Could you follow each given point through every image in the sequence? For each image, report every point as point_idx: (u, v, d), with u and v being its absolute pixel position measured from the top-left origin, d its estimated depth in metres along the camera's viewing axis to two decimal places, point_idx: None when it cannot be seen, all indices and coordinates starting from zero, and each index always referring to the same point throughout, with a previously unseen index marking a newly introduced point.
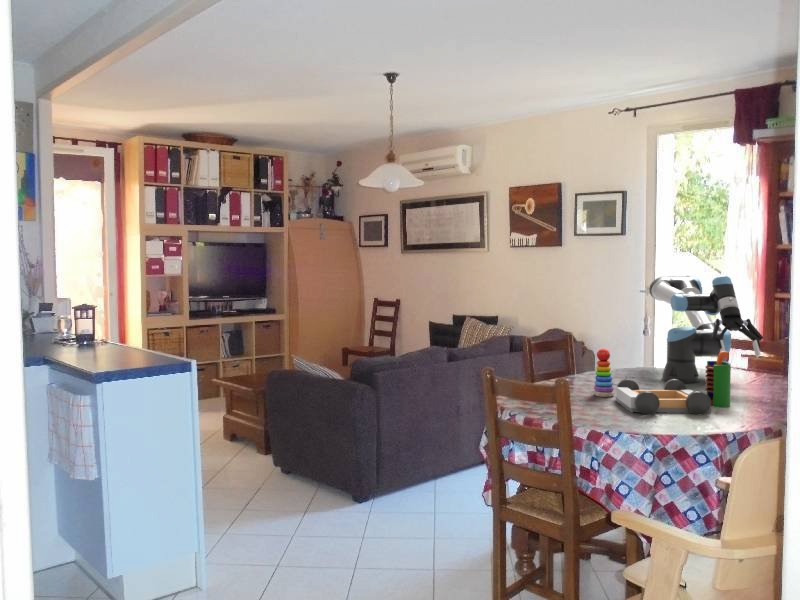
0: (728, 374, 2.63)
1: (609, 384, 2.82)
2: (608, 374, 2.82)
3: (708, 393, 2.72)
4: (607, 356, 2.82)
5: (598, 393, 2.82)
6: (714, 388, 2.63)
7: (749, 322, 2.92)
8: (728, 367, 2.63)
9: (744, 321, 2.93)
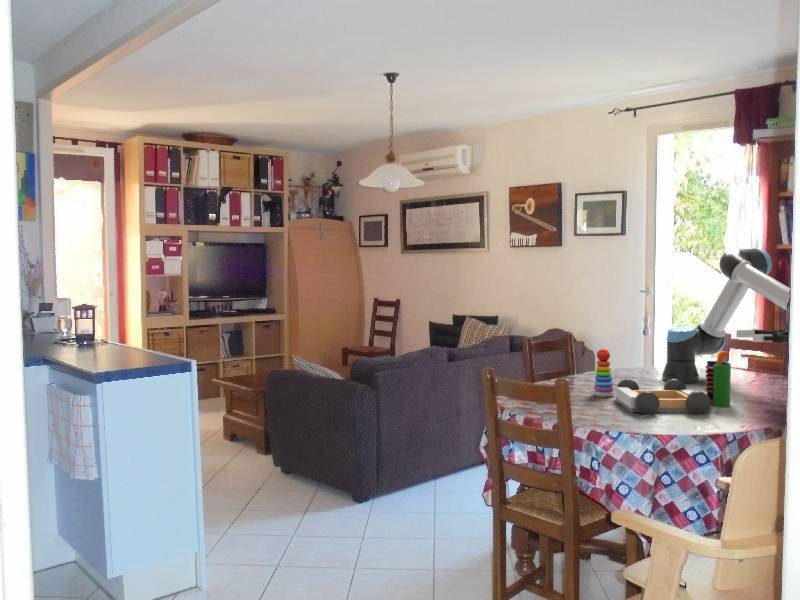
0: (728, 374, 2.63)
1: (609, 384, 2.82)
2: (608, 374, 2.82)
3: (708, 393, 2.72)
4: (607, 356, 2.82)
5: (598, 393, 2.82)
6: (714, 388, 2.63)
7: None
8: (728, 367, 2.63)
9: None
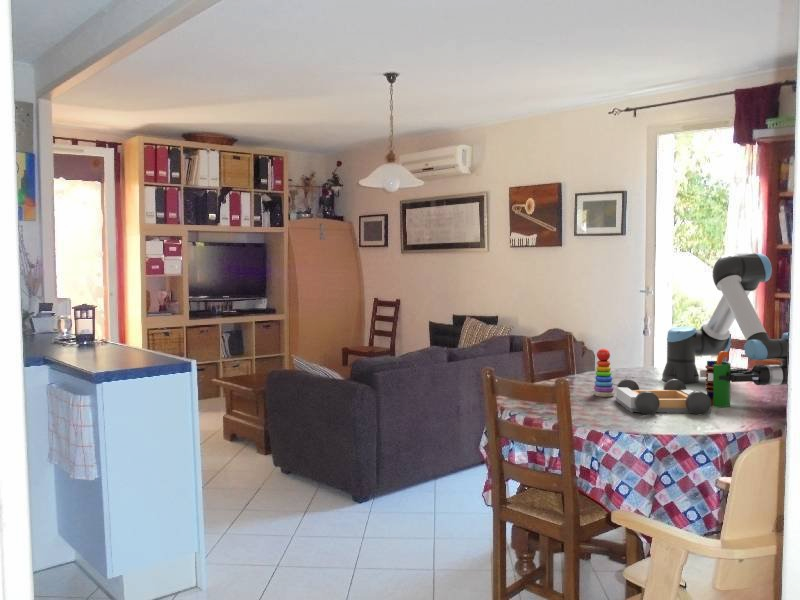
0: None
1: (609, 384, 2.82)
2: (608, 374, 2.82)
3: (708, 393, 2.72)
4: (607, 356, 2.82)
5: (598, 393, 2.82)
6: (714, 388, 2.63)
7: None
8: (728, 367, 2.63)
9: None
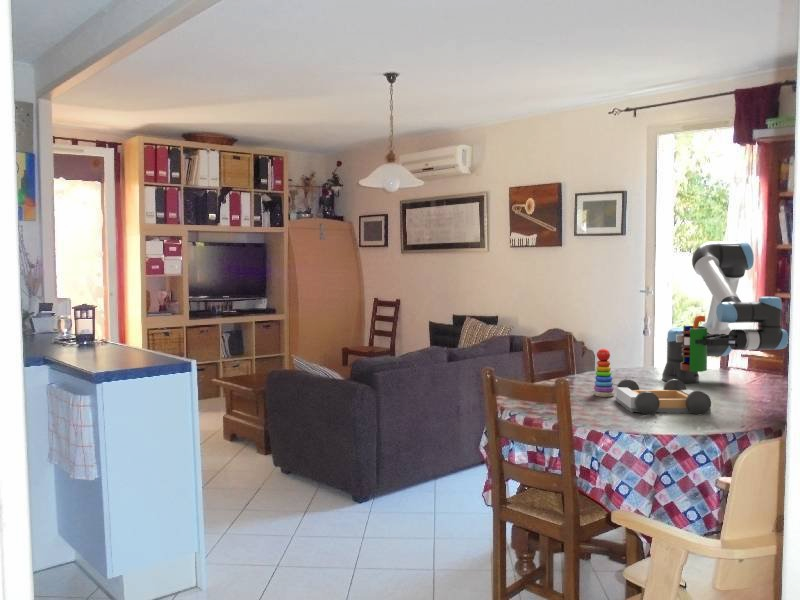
0: None
1: (609, 384, 2.82)
2: (608, 374, 2.82)
3: (685, 359, 2.68)
4: (607, 356, 2.82)
5: (598, 393, 2.82)
6: (690, 352, 2.59)
7: None
8: (704, 331, 2.58)
9: None
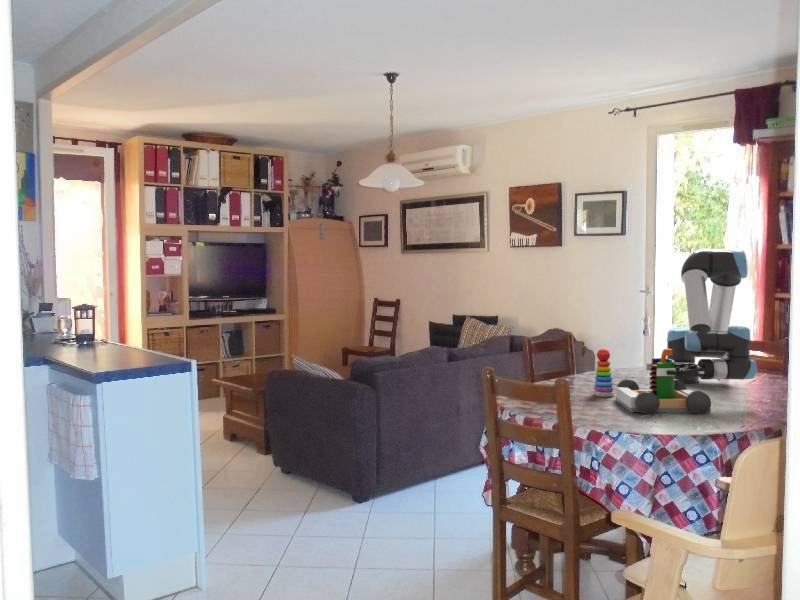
0: None
1: (609, 384, 2.82)
2: (608, 374, 2.82)
3: (653, 391, 2.69)
4: (607, 356, 2.82)
5: (598, 393, 2.82)
6: (657, 386, 2.60)
7: None
8: (671, 365, 2.59)
9: None
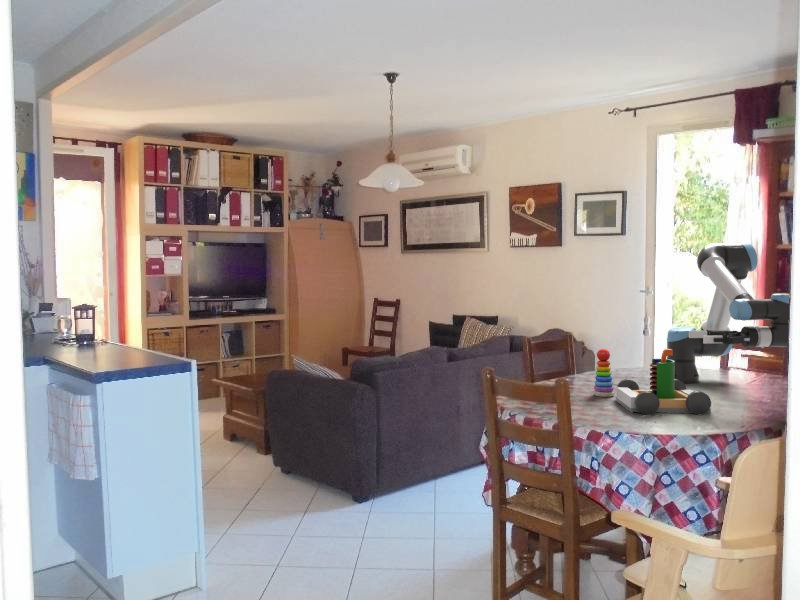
0: (672, 372, 2.60)
1: (609, 384, 2.82)
2: (608, 374, 2.82)
3: (653, 391, 2.69)
4: (607, 356, 2.82)
5: (598, 393, 2.82)
6: (657, 386, 2.60)
7: None
8: (671, 365, 2.60)
9: None
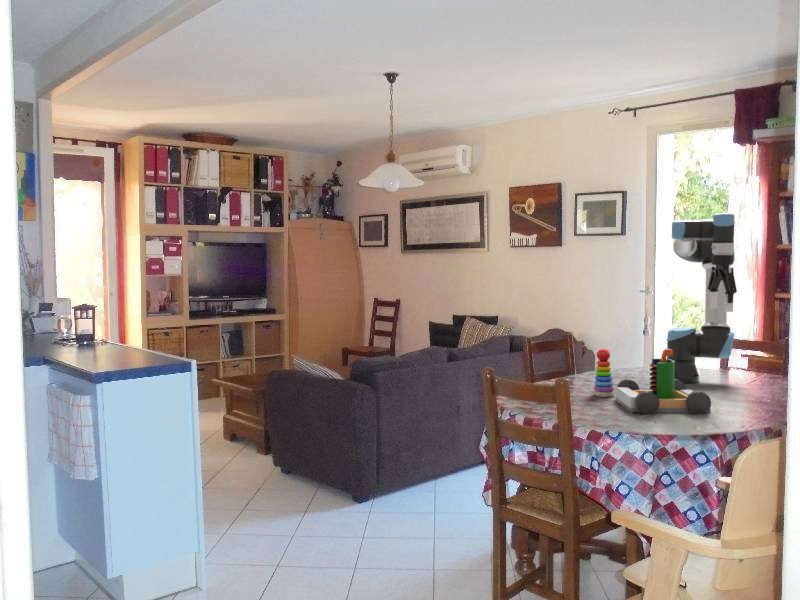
0: (672, 372, 2.60)
1: (609, 384, 2.82)
2: (608, 374, 2.82)
3: (653, 391, 2.69)
4: (607, 356, 2.82)
5: (598, 393, 2.82)
6: (657, 386, 2.60)
7: (726, 272, 2.66)
8: (671, 365, 2.60)
9: None
